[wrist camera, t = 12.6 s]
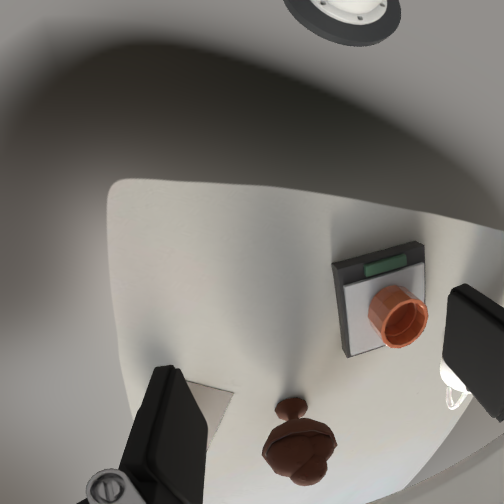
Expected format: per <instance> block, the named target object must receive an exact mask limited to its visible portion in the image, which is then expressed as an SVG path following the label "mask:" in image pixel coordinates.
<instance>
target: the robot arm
mask: <svg viewBox="0 0 504 504" xmlns="http://www.w3.org/2000/svg"><path fill="white" fill-rule="evenodd" d="M310 1H311V2H312V3H313V4H314V5H315V6H316V7H317V8H318V9H320V10H321V11H322V12H324V13H325V14H327V15H328V16H330V17H332V18H334V19H336V20H339V21H342V22H345V23H349V24H355V25H365V24H370V23H373V22H375V21H377V20H378V19H380V18H381V17H382V16H383V14H384V13H385V11H386V8H387V0H310ZM442 356H443V360H444V362H445V363H446V365H447V366H448V367H449V368H450V369H451V370H452V371H453V372H454V373H455V375H456V376H457V377H458V378H459V379H460V380H461V381H462V383H463V384H464V385H465V386H466V387H467V388H468V390H469V391H470V392H471V393H472V394H473V395H474V396H475V398H476V399H477V400H478V401H479V403H480V404H481V405H482V406H483V407H484V408H485V410H486V411H487V412H488V413H489V415H490V416H491V417H493V418H495V417H496V419H497V420H498V421H499V422H502V421H503V420H504V308H503V307H502V306H500V305H499V304H497V303H496V302H494V301H493V300H491V299H490V298H488V297H487V296H485V295H484V294H482V293H480V292H479V291H477V290H476V289H474V288H473V287H471V286H470V285H468V284H466V283H465V284H462V285H459V286H457V287H455V288H453V289H452V290H451V292H450V294H449V295H448V302H447V316H446V327H445V336H444V345H443V352H442ZM207 439H208V425H207V421H206V419H205V418H204V416H203V414H202V412H201V410H200V408H199V406H198V404H197V402H196V400H195V398H194V396H193V394H192V392H191V390H190V388H189V386H188V384H187V382H186V380H185V378H184V376H183V374H182V372H181V370H180V369H179V368H176V369H175V367H174V366H173V365H167V366H160V367H156V368H155V369H154V371H153V374H152V377H151V379H150V382H149V385H148V388H147V390H146V393H145V396H144V399H143V402H142V405H141V407H140V408H139V410H138V411H137V414H136V417H135V420H134V423H133V426H132V429H131V432H130V435H129V438H128V441H127V444H126V447H125V450H124V453H123V456H122V459H121V462H120V465H119V469H112V468H111V469H104V470H102V471H99V472H97V473H96V474H95V475H93V476H92V477H91V479H90V480H89V481H88V484H87V486H86V496H87V498H86V499H84V500H82V501H81V502H79V503H77V504H203V489H204V476H205V463H206V451H207ZM366 504H504V433H503V434H502V435H500V436H499V437H498V438H496V439H495V440H493V441H492V442H491V443H489V444H487V445H486V446H484V447H483V448H481V449H480V450H478V451H476V452H475V453H473V454H472V455H470V456H468V457H467V458H465V459H463V460H462V461H460V462H458V463H456V464H455V465H453V466H451V467H449V468H447V469H445V470H444V471H442V472H440V473H438V474H436V475H434V476H432V477H430V478H428V479H426V480H424V481H421V482H419V483H417V484H415V485H413V486H411V487H408V488H406V489H404V490H401V491H399V492H396V493H394V494H391V495H389V496H386V497H383V498H381V499H378V500H375V501H372V502H369V503H366Z"/></svg>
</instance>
